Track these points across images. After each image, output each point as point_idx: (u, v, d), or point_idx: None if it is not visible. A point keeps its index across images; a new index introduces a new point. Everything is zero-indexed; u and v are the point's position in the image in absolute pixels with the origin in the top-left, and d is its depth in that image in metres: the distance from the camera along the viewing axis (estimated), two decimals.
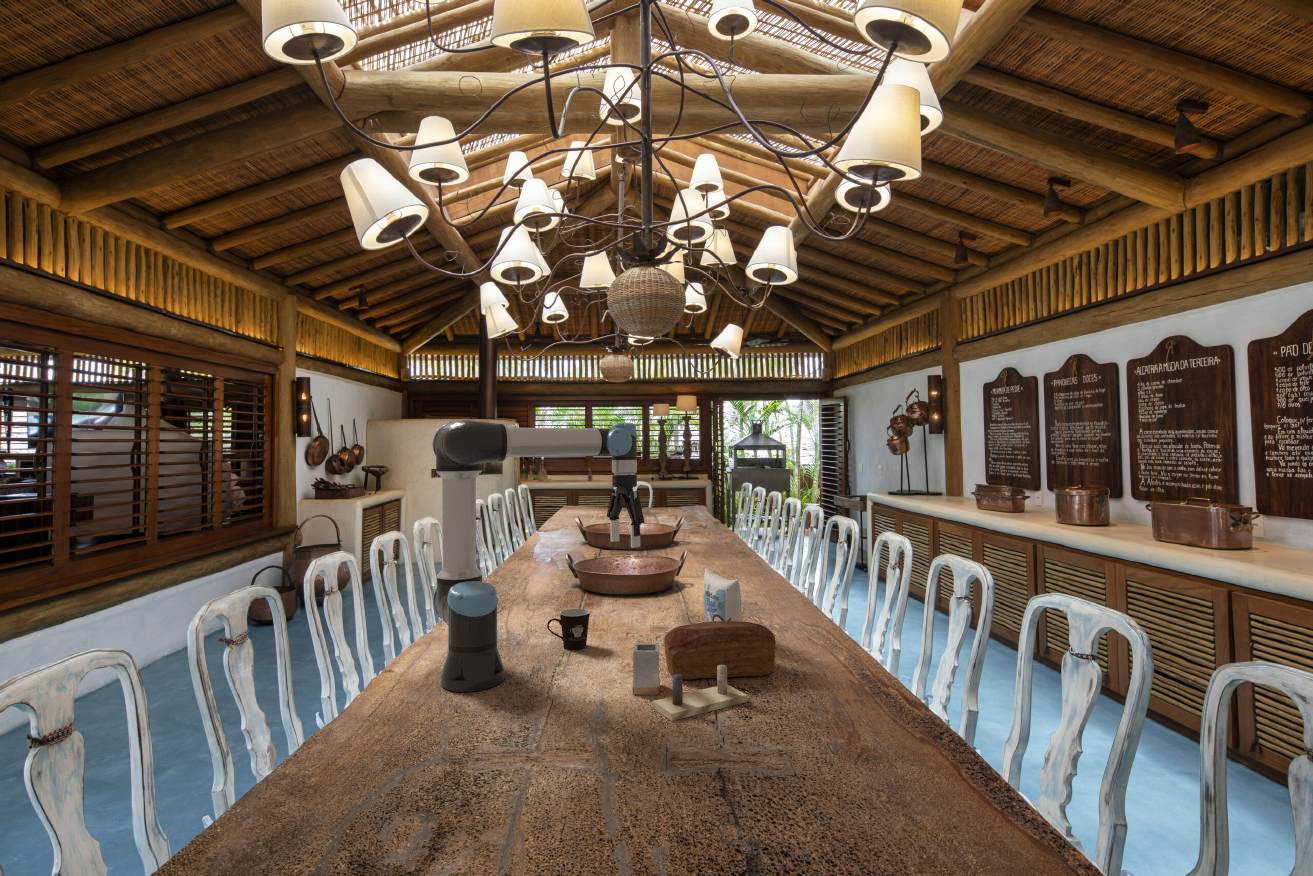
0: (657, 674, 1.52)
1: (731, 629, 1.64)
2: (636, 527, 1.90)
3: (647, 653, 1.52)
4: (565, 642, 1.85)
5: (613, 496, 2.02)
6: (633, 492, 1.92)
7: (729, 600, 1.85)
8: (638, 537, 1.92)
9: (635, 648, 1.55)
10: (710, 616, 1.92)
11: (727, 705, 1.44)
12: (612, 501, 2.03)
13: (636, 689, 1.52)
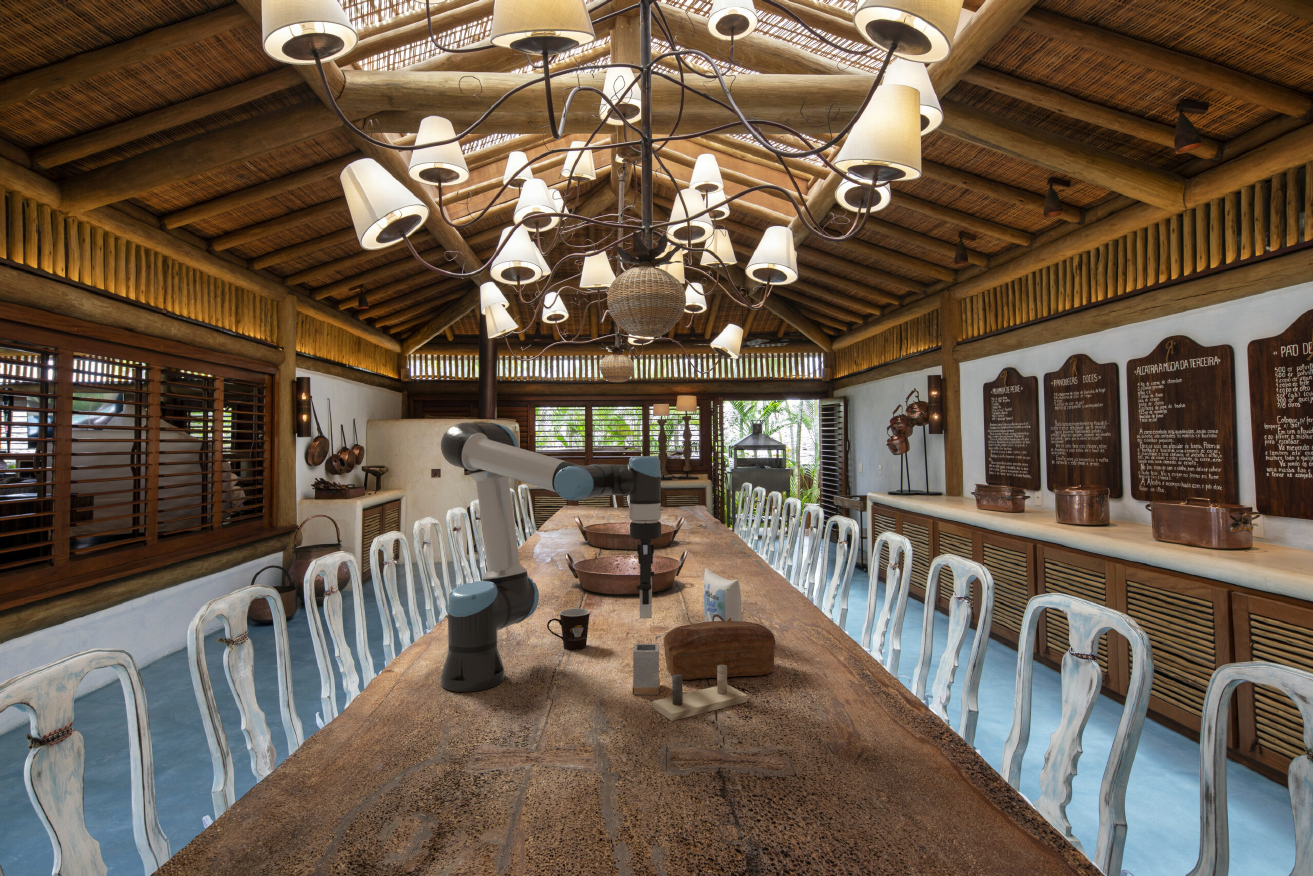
0: (657, 674, 1.52)
1: (731, 629, 1.64)
2: (643, 593, 1.47)
3: (647, 653, 1.52)
4: (565, 642, 1.85)
5: None
6: (642, 547, 1.49)
7: (729, 600, 1.85)
8: (649, 605, 1.48)
9: (635, 648, 1.55)
10: (710, 616, 1.92)
11: (727, 705, 1.44)
12: None
13: (636, 689, 1.52)
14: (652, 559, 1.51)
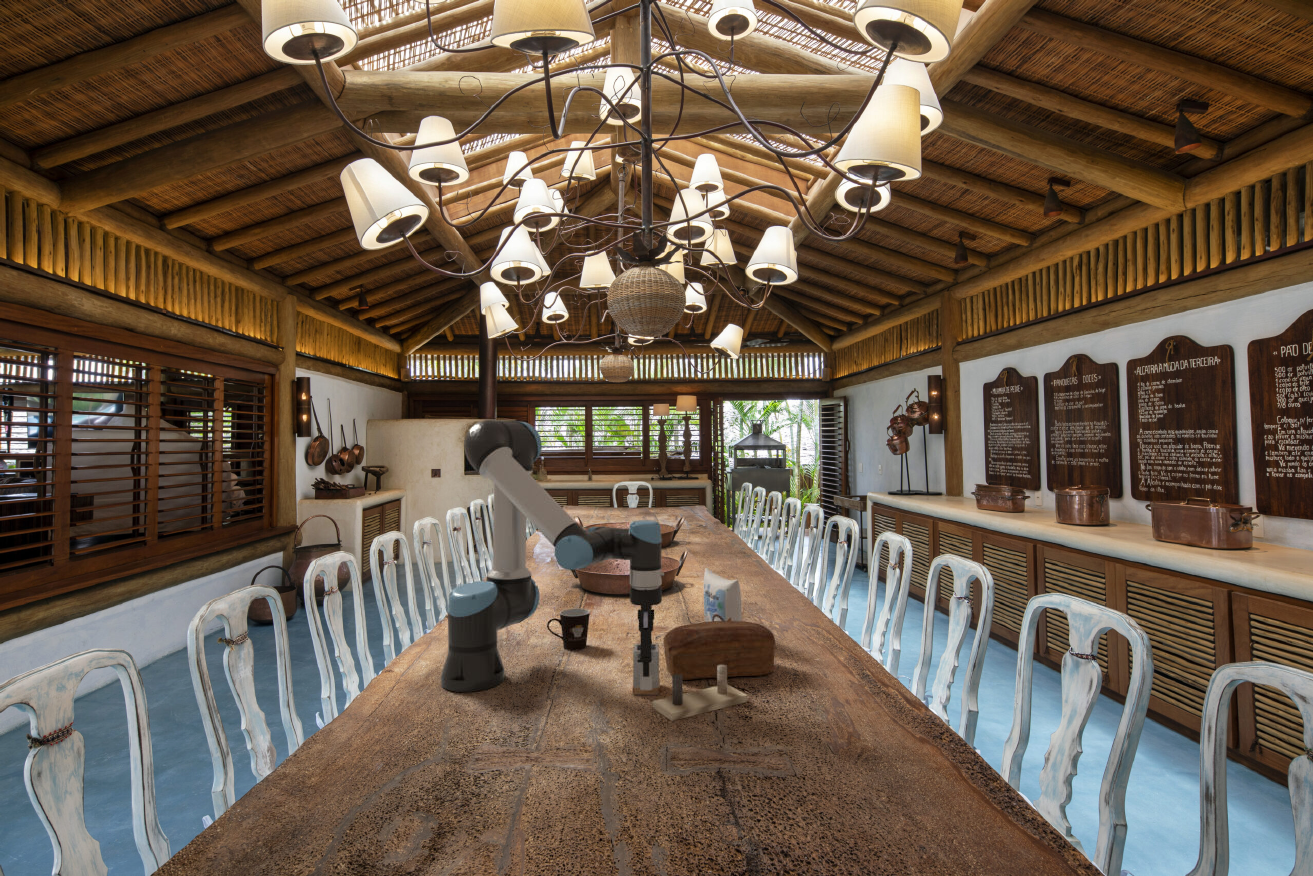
0: (657, 674, 1.52)
1: (731, 629, 1.64)
2: (644, 665, 1.50)
3: None
4: (565, 642, 1.85)
5: None
6: (643, 621, 1.48)
7: (728, 600, 1.85)
8: (649, 677, 1.51)
9: (635, 648, 1.55)
10: (710, 616, 1.92)
11: (727, 705, 1.44)
12: None
13: (636, 689, 1.52)
14: (652, 628, 1.52)
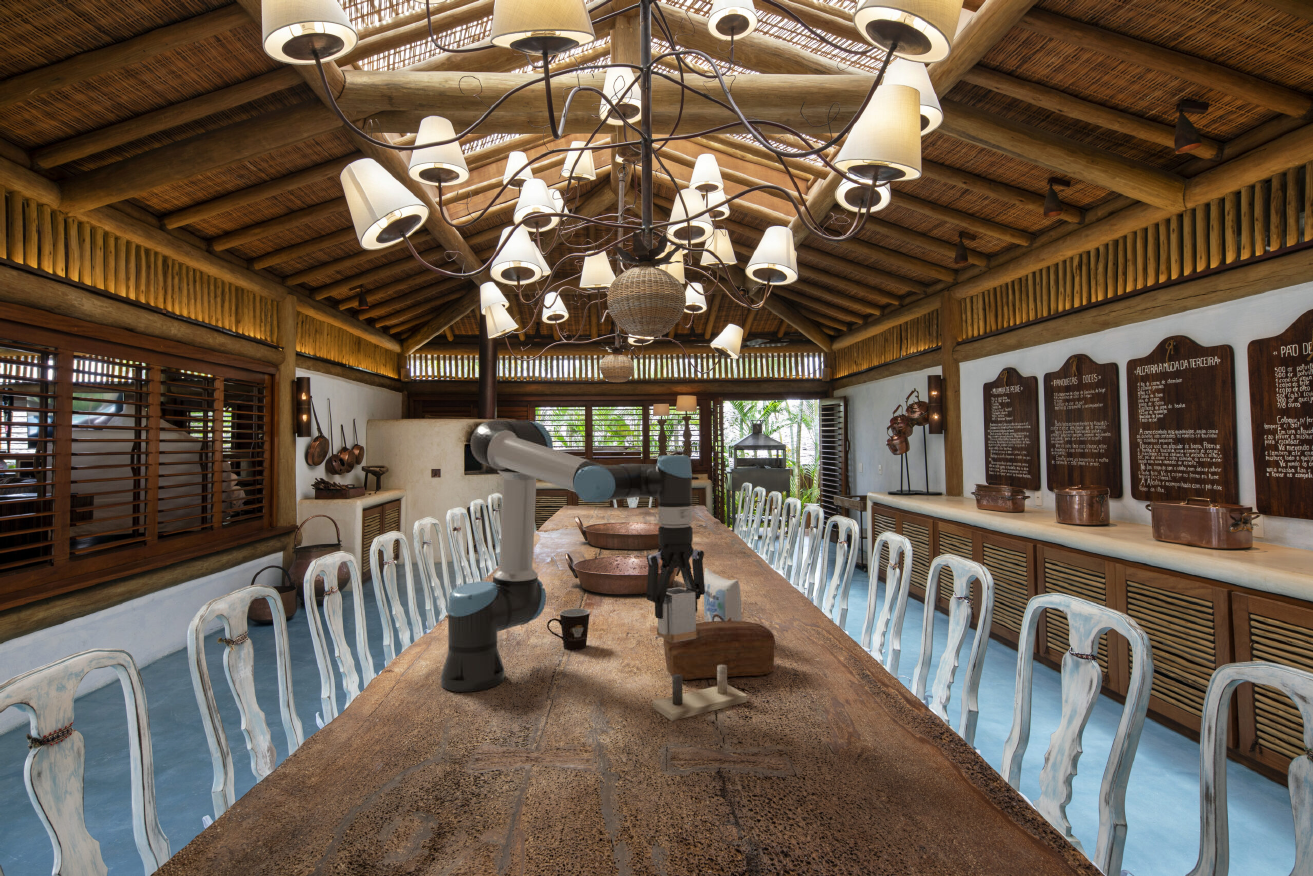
0: (671, 620, 1.39)
1: (731, 629, 1.64)
2: (655, 606, 1.41)
3: None
4: (565, 642, 1.85)
5: (693, 559, 1.47)
6: (648, 557, 1.41)
7: (728, 600, 1.85)
8: (663, 621, 1.41)
9: (669, 589, 1.45)
10: (710, 616, 1.92)
11: (727, 705, 1.44)
12: (693, 567, 1.47)
13: None
14: (668, 570, 1.41)
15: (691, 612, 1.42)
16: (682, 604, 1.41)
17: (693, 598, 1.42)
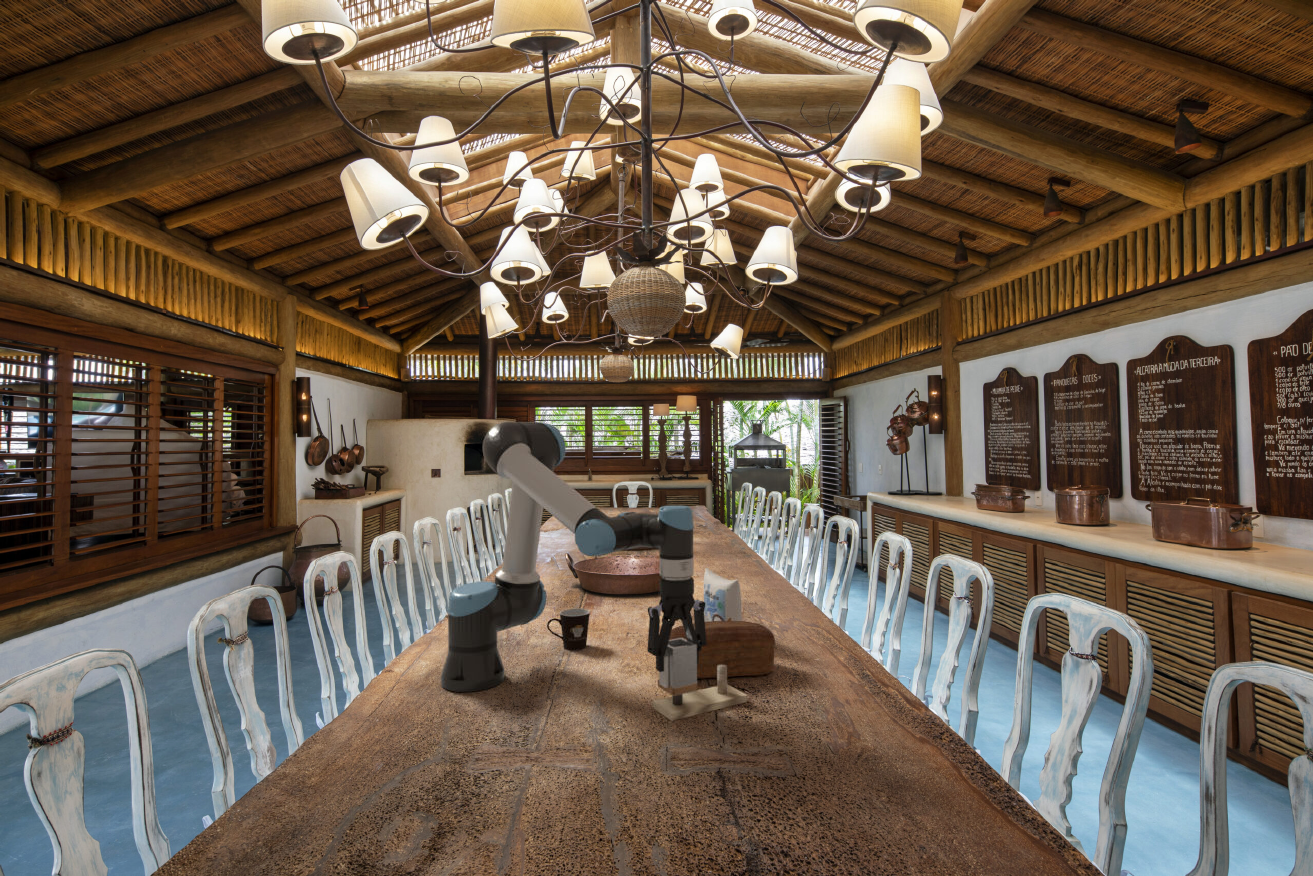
0: (672, 673, 1.39)
1: (731, 629, 1.64)
2: (656, 658, 1.41)
3: None
4: (565, 642, 1.85)
5: (694, 609, 1.46)
6: (649, 610, 1.40)
7: (729, 600, 1.85)
8: (664, 674, 1.40)
9: (670, 640, 1.45)
10: (710, 616, 1.92)
11: (727, 705, 1.44)
12: (694, 617, 1.46)
13: None
14: (669, 622, 1.40)
15: (692, 665, 1.41)
16: (683, 657, 1.40)
17: (694, 650, 1.41)
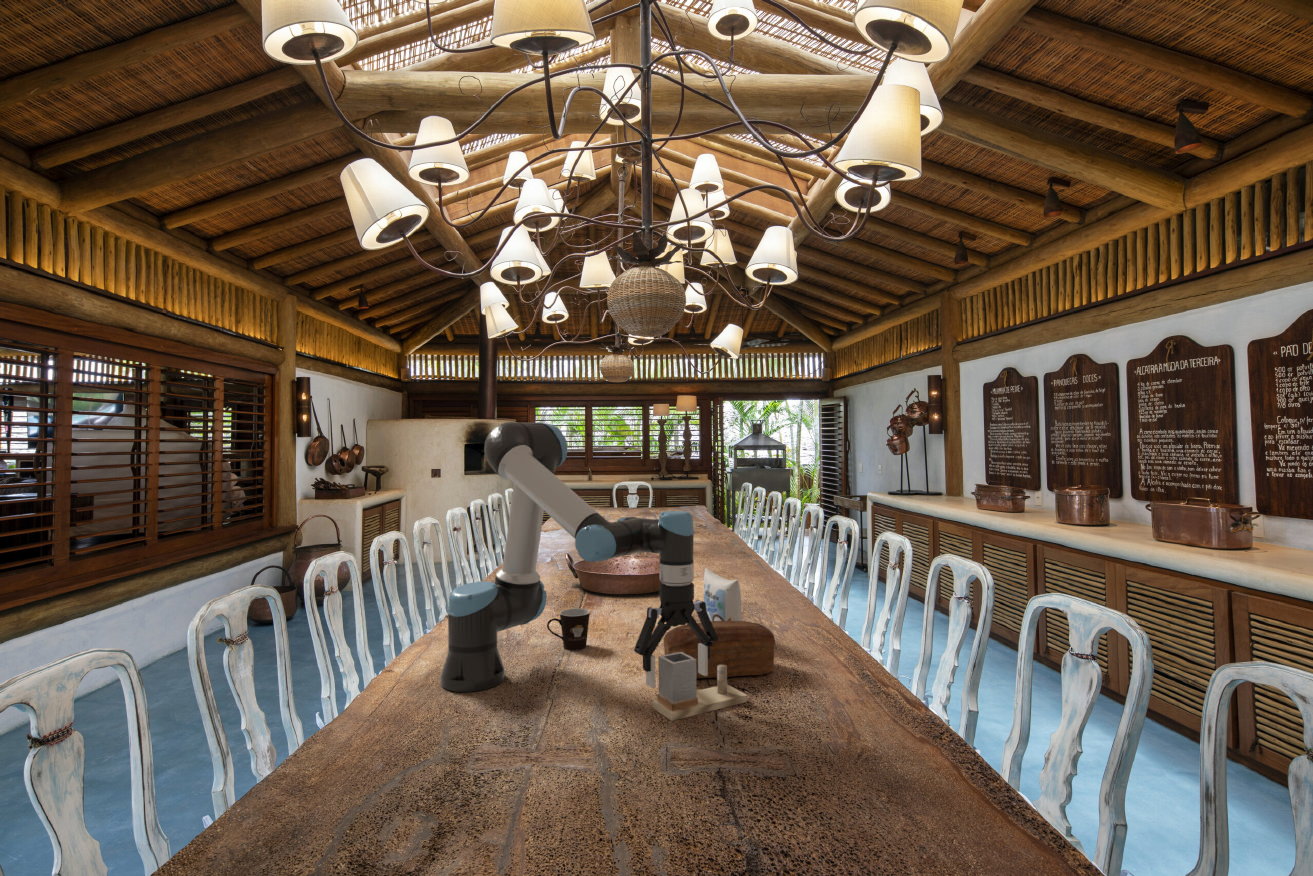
0: (671, 688, 1.39)
1: (731, 629, 1.64)
2: (643, 658, 1.39)
3: (666, 662, 1.41)
4: (565, 642, 1.85)
5: (697, 610, 1.47)
6: (649, 609, 1.40)
7: (728, 600, 1.85)
8: (650, 673, 1.39)
9: (670, 654, 1.45)
10: (710, 616, 1.92)
11: (727, 705, 1.44)
12: (699, 617, 1.47)
13: (659, 697, 1.43)
14: (666, 625, 1.40)
15: (692, 679, 1.41)
16: (683, 672, 1.40)
17: (694, 665, 1.41)
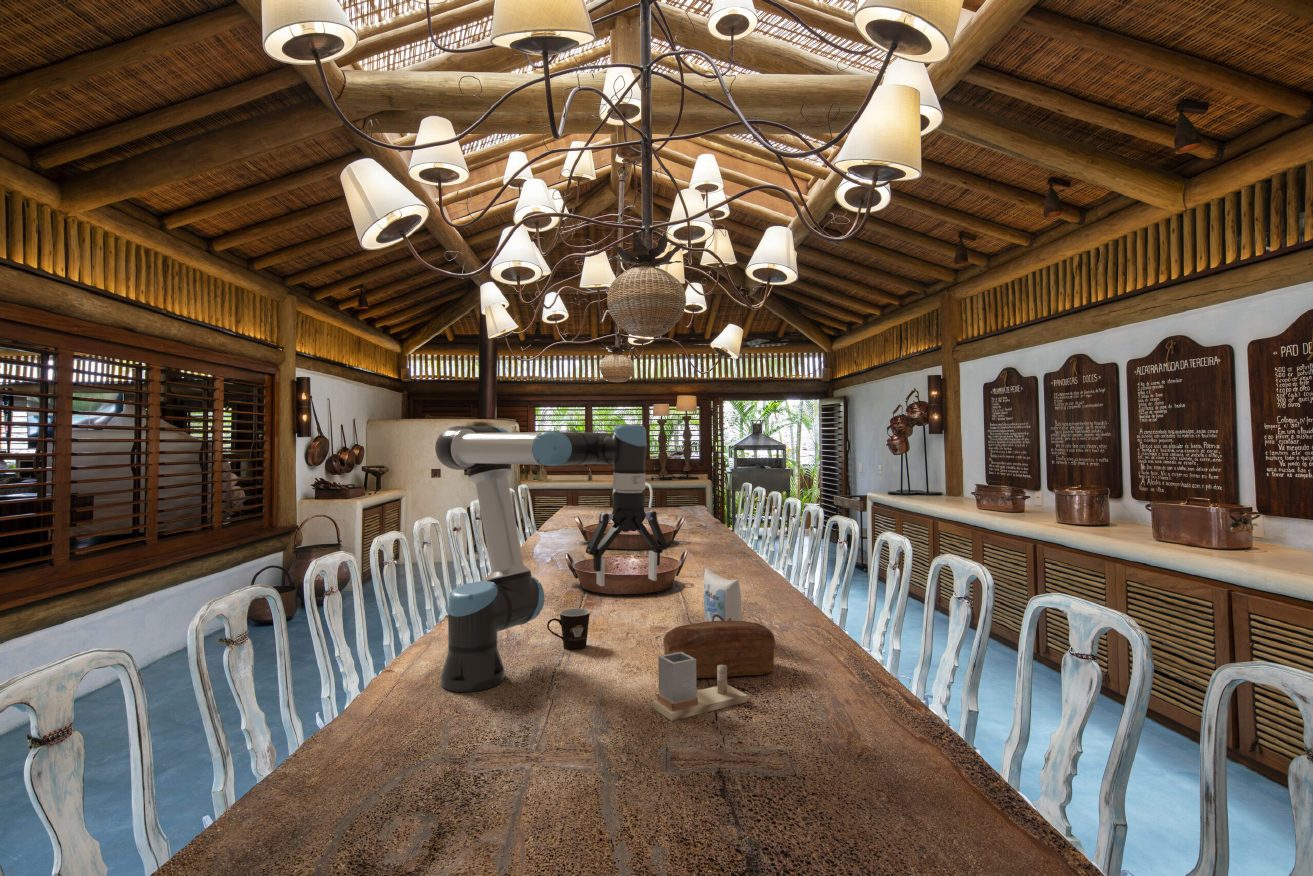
0: (671, 688, 1.39)
1: (731, 628, 1.64)
2: (594, 559, 1.48)
3: (666, 662, 1.41)
4: (565, 642, 1.85)
5: (648, 520, 1.55)
6: (601, 514, 1.49)
7: (729, 600, 1.85)
8: (600, 573, 1.48)
9: (670, 654, 1.45)
10: (710, 616, 1.92)
11: (727, 705, 1.44)
12: (651, 526, 1.56)
13: (659, 697, 1.43)
14: (616, 529, 1.48)
15: (692, 679, 1.41)
16: (683, 672, 1.40)
17: (694, 665, 1.41)
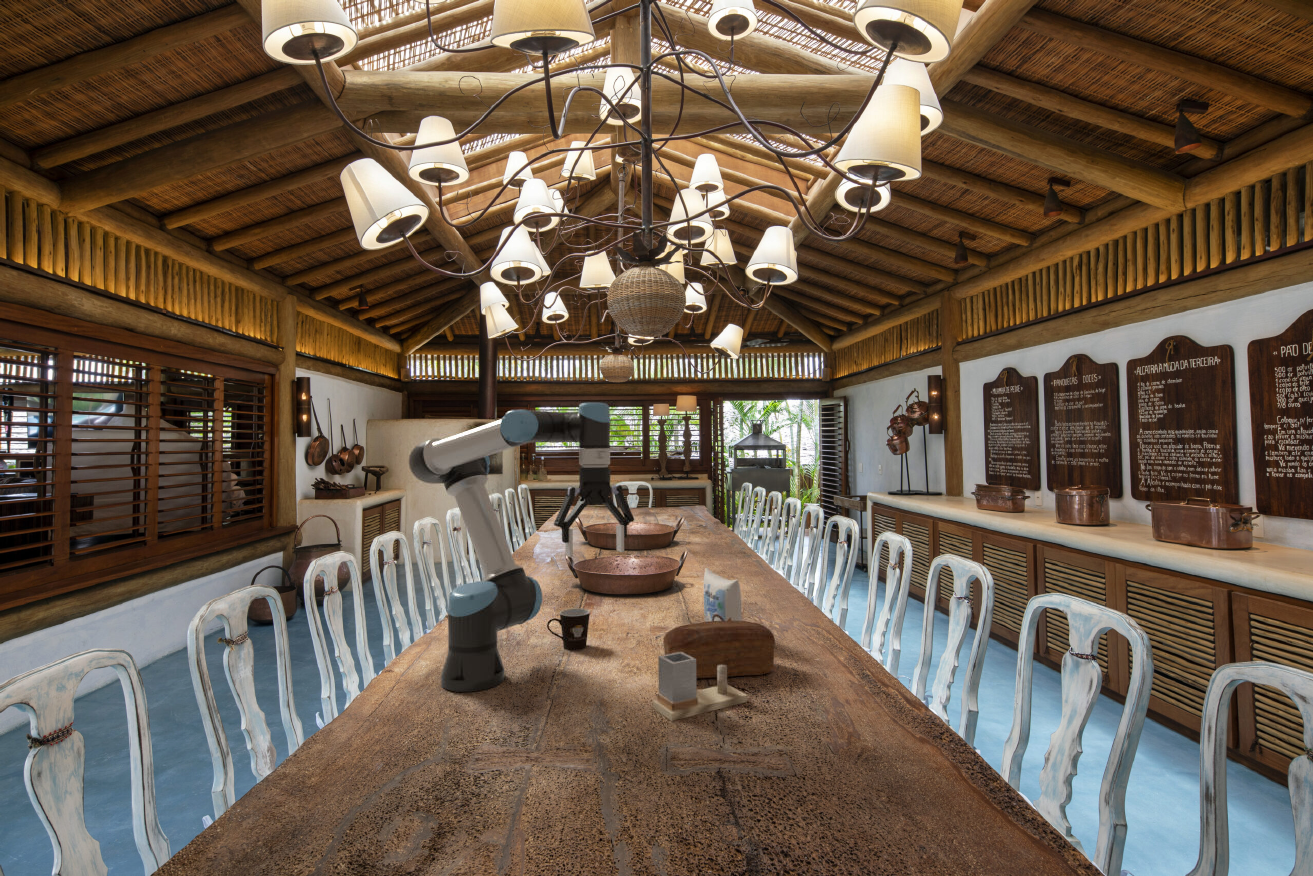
0: (671, 688, 1.39)
1: (731, 628, 1.64)
2: (562, 531, 1.55)
3: (666, 662, 1.41)
4: (565, 642, 1.85)
5: (615, 494, 1.62)
6: (568, 488, 1.56)
7: (728, 600, 1.85)
8: (568, 545, 1.54)
9: (670, 654, 1.45)
10: (710, 616, 1.92)
11: (727, 705, 1.44)
12: (617, 500, 1.63)
13: (659, 697, 1.43)
14: (583, 502, 1.55)
15: (692, 679, 1.41)
16: (683, 672, 1.40)
17: (694, 665, 1.41)
